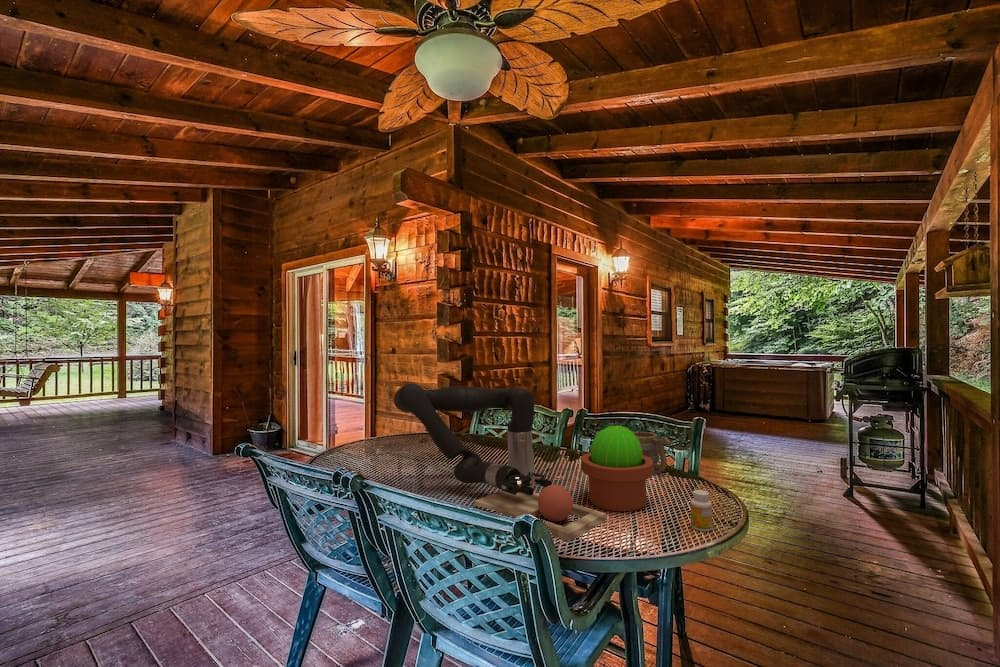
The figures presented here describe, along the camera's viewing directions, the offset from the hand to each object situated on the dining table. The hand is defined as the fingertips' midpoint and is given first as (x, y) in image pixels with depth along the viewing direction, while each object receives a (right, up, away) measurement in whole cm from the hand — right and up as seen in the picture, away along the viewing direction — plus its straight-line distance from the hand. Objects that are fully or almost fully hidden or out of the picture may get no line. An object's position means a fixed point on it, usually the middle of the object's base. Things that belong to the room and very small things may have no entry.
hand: (541, 488), depth 138 cm
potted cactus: (+25, -8, +10) cm, 28 cm away
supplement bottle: (+43, -8, -11) cm, 45 cm away
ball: (+4, -3, -4) cm, 6 cm away
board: (-1, -8, +1) cm, 8 cm away
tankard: (+45, -7, +39) cm, 60 cm away
